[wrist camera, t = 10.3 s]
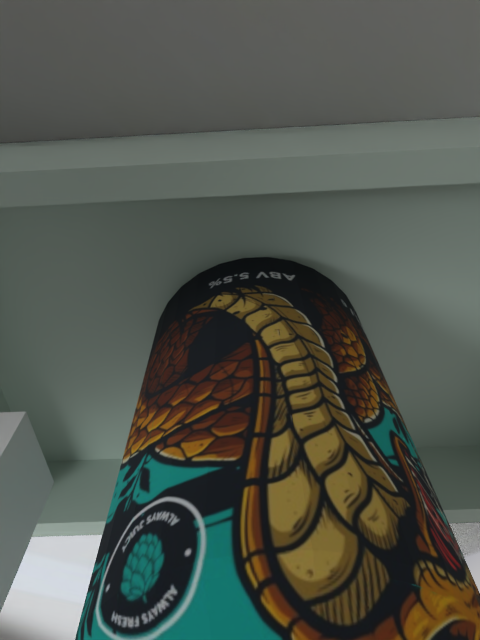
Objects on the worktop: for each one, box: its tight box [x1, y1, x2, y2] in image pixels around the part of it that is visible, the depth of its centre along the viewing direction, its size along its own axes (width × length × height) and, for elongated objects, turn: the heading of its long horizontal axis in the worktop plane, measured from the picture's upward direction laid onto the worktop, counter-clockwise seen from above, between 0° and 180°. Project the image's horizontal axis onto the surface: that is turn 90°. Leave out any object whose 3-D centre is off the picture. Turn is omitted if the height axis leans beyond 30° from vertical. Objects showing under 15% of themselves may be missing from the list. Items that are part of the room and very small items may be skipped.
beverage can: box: [75, 257, 480, 640], centre depth 11 cm, size 7×7×12 cm
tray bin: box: [0, 117, 480, 537], centre depth 16 cm, size 22×14×4 cm, turn 93°
